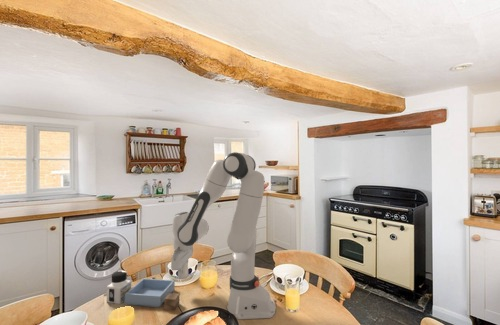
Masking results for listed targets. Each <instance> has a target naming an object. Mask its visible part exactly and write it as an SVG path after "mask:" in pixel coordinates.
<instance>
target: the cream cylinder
mask: <svg viewBox="0 0 500 325" xmlns="http://www.w3.org/2000/svg"><path fill="white" fill-rule="evenodd" d="M182 270H183V274H182V275H178V274H177V279H178V280H184V279H185V280H186V279H188V278H189V261H188V262H186V263H185V264H184V265H183V266H182Z"/></svg>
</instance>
